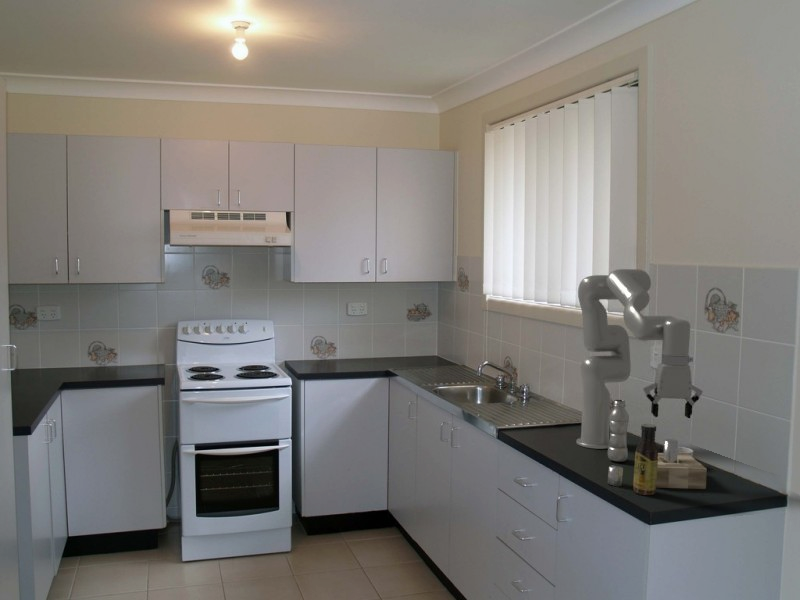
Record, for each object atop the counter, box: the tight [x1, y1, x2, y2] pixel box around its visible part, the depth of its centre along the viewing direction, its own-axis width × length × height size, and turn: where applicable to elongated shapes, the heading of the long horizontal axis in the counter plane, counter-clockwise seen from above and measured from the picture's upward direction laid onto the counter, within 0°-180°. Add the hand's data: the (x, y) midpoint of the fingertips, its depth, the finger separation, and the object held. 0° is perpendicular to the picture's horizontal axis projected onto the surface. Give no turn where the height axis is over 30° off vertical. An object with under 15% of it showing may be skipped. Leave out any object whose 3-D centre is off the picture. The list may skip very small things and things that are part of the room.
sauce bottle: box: [632, 423, 659, 496], centre depth 219 cm, size 7×6×20 cm
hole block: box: [656, 452, 708, 490], centre depth 232 cm, size 16×16×6 cm
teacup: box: [678, 446, 694, 458], centre depth 247 cm, size 10×8×5 cm
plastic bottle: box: [607, 399, 630, 463], centre depth 251 cm, size 6×7×20 cm
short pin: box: [607, 465, 624, 487], centre depth 227 cm, size 4×4×5 cm
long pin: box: [662, 438, 679, 463], centre depth 232 cm, size 4×4×12 cm
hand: (671, 416), depth 232 cm, fingers open, 9 cm apart
